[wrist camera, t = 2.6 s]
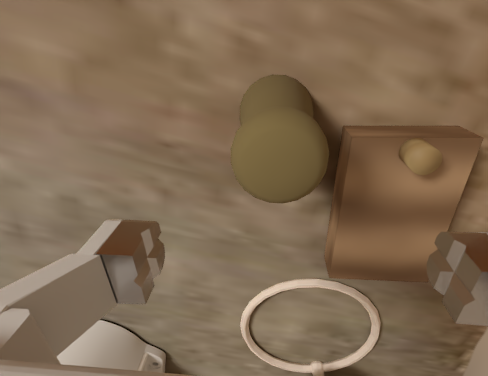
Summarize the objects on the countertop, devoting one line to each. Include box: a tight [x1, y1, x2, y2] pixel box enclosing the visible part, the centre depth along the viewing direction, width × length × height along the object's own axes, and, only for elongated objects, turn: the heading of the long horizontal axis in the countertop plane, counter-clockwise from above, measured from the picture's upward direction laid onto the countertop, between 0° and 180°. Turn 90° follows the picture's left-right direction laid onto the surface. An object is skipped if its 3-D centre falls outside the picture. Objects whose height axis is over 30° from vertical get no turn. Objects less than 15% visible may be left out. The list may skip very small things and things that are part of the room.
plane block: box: [324, 126, 483, 282], centre depth 24 cm, size 14×9×5 cm, turn 1°
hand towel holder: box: [240, 278, 381, 376], centre depth 35 cm, size 17×4×20 cm
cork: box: [231, 75, 329, 203], centre depth 19 cm, size 6×6×11 cm
